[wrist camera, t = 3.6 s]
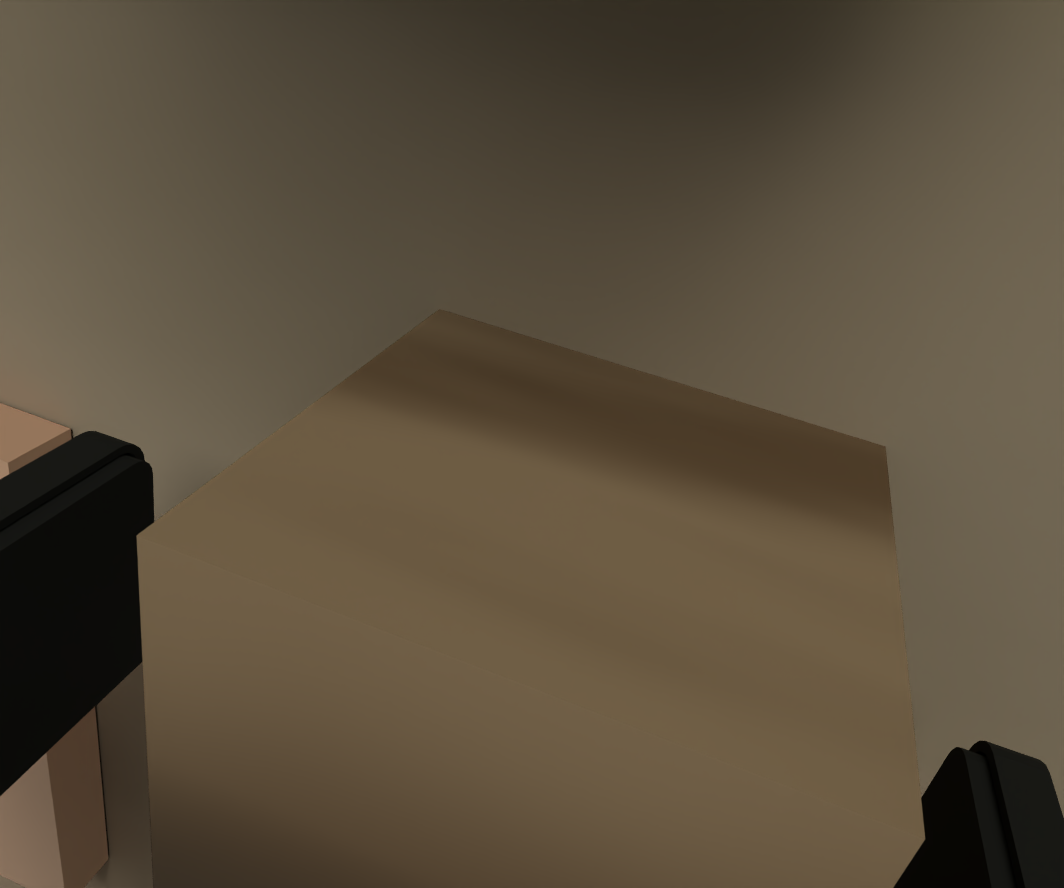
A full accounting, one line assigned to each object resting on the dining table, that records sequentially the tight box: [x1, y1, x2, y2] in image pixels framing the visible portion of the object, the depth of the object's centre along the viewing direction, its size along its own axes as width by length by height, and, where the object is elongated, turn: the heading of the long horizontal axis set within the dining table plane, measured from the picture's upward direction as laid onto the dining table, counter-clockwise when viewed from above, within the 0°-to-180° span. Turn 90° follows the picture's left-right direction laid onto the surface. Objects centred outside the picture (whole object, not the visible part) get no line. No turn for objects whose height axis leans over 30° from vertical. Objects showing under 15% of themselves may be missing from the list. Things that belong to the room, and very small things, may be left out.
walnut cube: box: [137, 309, 925, 888], centre depth 9 cm, size 6×6×6 cm
